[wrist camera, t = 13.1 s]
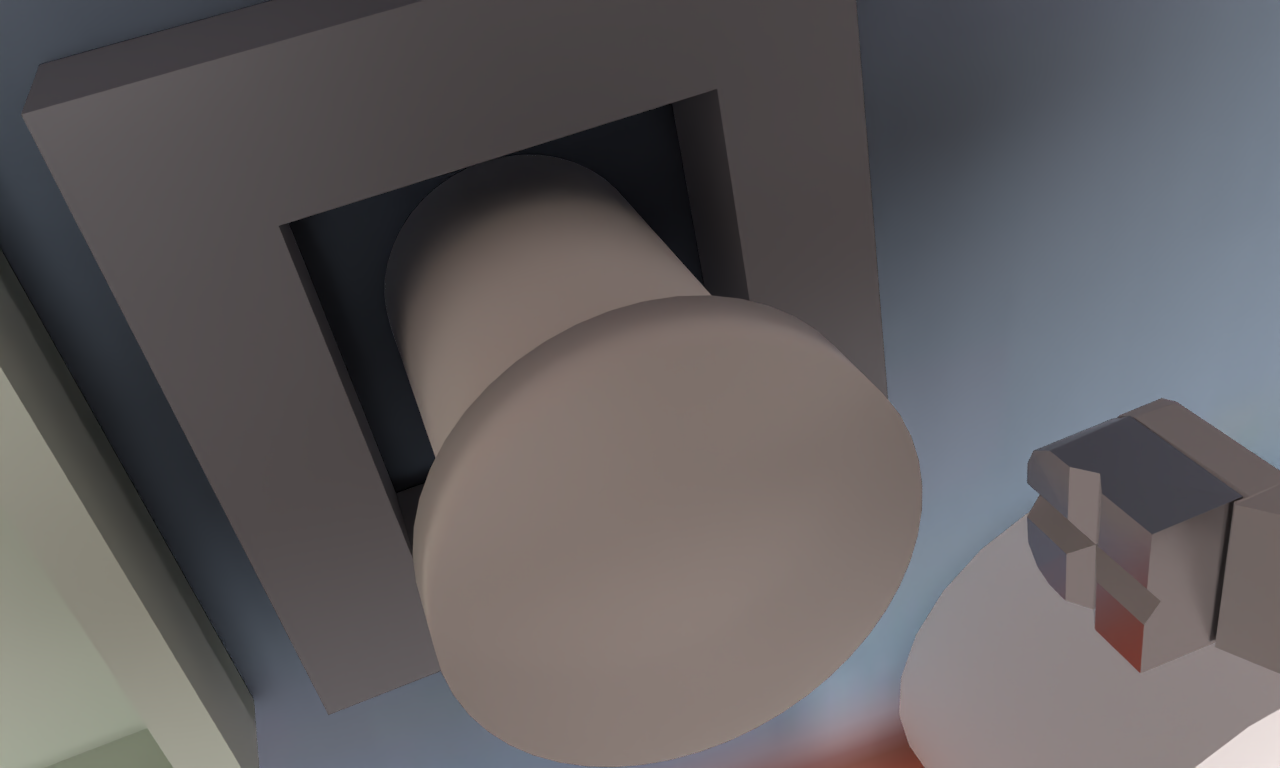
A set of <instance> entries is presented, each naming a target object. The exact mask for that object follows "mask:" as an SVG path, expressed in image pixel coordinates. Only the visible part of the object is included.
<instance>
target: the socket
mask: <svg viewBox="0 0 1280 768" xmlns="http://www.w3.org/2000/svg"><path fill="white" fill-rule="evenodd" d="M670 103H672V106H673V112H674V118H675V123H676V129H677V135H678V140H679V146H680V151H681V157H682V163H683V168H684V174H685V180H686V185H687V191H688V196H689V202H690V208H691V213H692V219H693V225H694V230H695V236H696V241H697V247H698V253H699V258H700V264H701V270H702V275H703V281H704V287H705V289H706V290H707V291H708V292H709V293H710V294H711V295H712V296H721V297H731V298H740V299H744V300H748V301H752V302H756V303H760V304H764V305H768V306H771V307H773V308H776V309H778V310H780V311H783V312H785V313H787V314H790V315H792V316H795V317H796V318H798V319H799V320H801V321H803V322H804V323H806V324H807V325H809V326H811V327H812V328H814V329H815V330H817V331H818V332H819V333H820V334H821V335H823V336H824V337H825V338H826V339H827V340H828V341H829V342H830V343H832V344H833V345H834V346H835V347H836V348H837V349H838V350H839V351H840V352H841V353H842V354H843V355H844V356H845V357H846V358H847V359H848V360H849V361H850V362H851V363H852V364H853V365H854V366H855V367H856V368H857V369H858V370H859V371H860V372H861V373H863V374H864V375H865V376H866V377H867V378H868V379H869V380H870V381H871V382H872V383H873V384H874V385H875V386H876V387H877V388H878V389H879V390H880V391H881V392H882V393H883V394H884V395H885V397H886V398H887V399H888V395H887V382H886V370H885V357H884V345H883V332H882V319H881V307H880V294H879V282H878V269H877V257H876V244H875V231H874V219H873V206H872V194H871V181H870V169H869V156H868V144H867V131H866V118H865V106H864V93H863V81H862V68H861V56H860V43H859V30H858V18H857V5H856V0H272V1H268V2H264V3H261V4H257V5H254V6H250V7H246V8H243V9H239V10H236V11H232V12H228V13H225V14H221V15H218V16H214V17H210V18H207V19H203V20H199V21H196V22H192V23H189V24H185V25H181V26H178V27H174V28H171V29H167V30H163V31H160V32H156V33H153V34H149V35H145V36H142V37H138V38H135V39H131V40H127V41H124V42H120V43H116V44H113V45H109V46H106V47H102V48H98V49H95V50H91V51H88V52H84V53H80V54H77V55H73V56H70V57H66V58H62V59H59V60H55V61H51V62H48V63H44V64H41V65H39V67H38V70H37V72H36V75H35V78H34V81H33V83H32V86H31V89H30V92H29V94H28V97H27V100H26V103H25V105H24V108H23V111H22V113H21V115H22V117H23V119H24V121H25V123H26V125H27V127H28V129H29V131H30V133H31V135H32V137H33V139H34V141H35V143H36V145H37V147H38V149H39V151H40V152H41V154H42V156H43V158H44V160H45V162H46V164H47V166H48V168H49V170H50V172H51V174H52V176H53V178H54V180H55V182H56V184H57V186H58V188H59V190H60V192H61V193H62V195H63V197H64V199H65V201H66V203H67V205H68V207H69V209H70V211H71V213H72V215H73V217H74V219H75V221H76V223H77V225H78V227H79V229H80V231H81V233H82V234H83V236H84V238H85V240H86V242H87V244H88V246H89V248H90V250H91V252H92V254H93V256H94V258H95V260H96V262H97V264H98V266H99V268H100V270H101V272H102V274H103V275H104V277H105V279H106V281H107V283H108V285H109V287H110V289H111V291H112V293H113V295H114V297H115V299H116V301H117V303H118V305H119V307H120V309H121V311H122V313H123V315H124V316H125V318H126V320H127V322H128V324H129V326H130V328H131V330H132V332H133V334H134V336H135V338H136V340H137V342H138V344H139V346H140V348H141V350H142V352H143V354H144V356H145V357H146V359H147V361H148V363H149V365H150V367H151V369H152V371H153V373H154V375H155V377H156V379H157V381H158V383H159V385H160V387H161V389H162V391H163V393H164V395H165V397H166V398H167V400H168V402H169V404H170V406H171V408H172V410H173V412H174V414H175V416H176V418H177V420H178V422H179V424H180V426H181V428H182V430H183V432H184V434H185V436H186V438H187V439H188V441H189V443H190V445H191V447H192V449H193V451H194V453H195V455H196V457H197V459H198V461H199V463H200V465H201V467H202V469H203V471H204V473H205V475H206V477H207V479H208V480H209V482H210V484H211V486H212V488H213V490H214V492H215V494H216V496H217V498H218V500H219V502H220V504H221V506H222V508H223V510H224V512H225V514H226V516H227V518H228V520H229V521H230V523H231V525H232V527H233V529H234V531H235V533H236V535H237V537H238V539H239V541H240V543H241V545H242V547H243V549H244V551H245V553H246V555H247V557H248V559H249V561H250V562H251V564H252V566H253V568H254V570H255V572H256V574H257V576H258V578H259V580H260V582H261V584H262V586H263V588H264V590H265V592H266V594H267V596H268V598H269V600H270V602H271V603H272V605H273V607H274V609H275V611H276V613H277V615H278V617H279V619H280V621H281V623H282V625H283V627H284V629H285V631H286V633H287V635H288V637H289V639H290V641H291V643H292V644H293V646H294V648H295V650H296V652H297V654H298V656H299V658H300V660H301V662H302V664H303V666H304V668H305V670H306V672H307V674H308V676H309V678H310V680H311V682H312V684H313V685H314V687H315V689H316V691H317V693H318V695H319V697H320V699H321V701H322V703H323V705H324V707H325V709H326V711H327V713H328V715H330V714H332V713H335V712H337V711H340V710H342V709H345V708H348V707H350V706H353V705H355V704H358V703H360V702H363V701H365V700H368V699H370V698H373V697H376V696H378V695H381V694H383V693H386V692H388V691H391V690H393V689H396V688H399V687H401V686H404V685H406V684H409V683H411V682H414V681H416V680H419V679H421V678H424V677H427V676H429V675H432V674H434V673H437V672H439V671H441V668H440V665H439V662H438V659H437V656H436V652H435V649H434V646H433V642H432V638H431V635H430V631H429V627H428V624H427V620H426V616H425V613H424V609H423V605H422V602H421V598H420V594H419V591H418V587H417V583H416V578H415V570H414V562H413V533H414V523H415V518H416V513H417V508H418V503H419V498H420V495H421V493H422V490H423V487H424V484H425V483H423V484H421V485H418V486H415V487H412V488H409V489H407V490H404V491H401V492H398V493H396V492H395V490H394V487H393V484H392V482H391V479H390V477H389V474H388V472H387V469H386V467H385V464H384V462H383V459H382V457H381V454H380V452H379V449H378V447H377V444H376V442H375V439H374V437H373V434H372V432H371V429H370V427H369V424H368V422H367V419H366V416H365V414H364V411H363V409H362V406H361V404H360V401H359V399H358V396H357V394H356V391H355V389H354V386H353V384H352V381H351V379H350V376H349V374H348V371H347V369H346V366H345V364H344V361H343V359H342V356H341V354H340V351H339V349H338V346H337V343H336V341H335V338H334V336H333V333H332V331H331V328H330V326H329V323H328V321H327V318H326V316H325V313H324V311H323V308H322V306H321V303H320V301H319V298H318V296H317V293H316V291H315V288H314V286H313V283H312V281H311V278H310V275H309V273H308V270H307V268H306V265H305V263H304V260H303V258H302V255H301V253H300V250H299V248H298V245H297V243H296V240H295V238H294V235H293V233H292V230H291V228H290V225H289V223H290V222H293V221H296V220H299V219H302V218H306V217H309V216H312V215H315V214H318V213H322V212H325V211H328V210H331V209H334V208H338V207H341V206H344V205H347V204H350V203H354V202H357V201H360V200H363V199H366V198H370V197H373V196H376V195H379V194H382V193H386V192H389V191H392V190H395V189H398V188H402V187H405V186H408V185H411V184H414V183H418V182H421V181H424V180H427V179H430V178H434V177H437V176H440V175H443V174H446V173H450V172H453V171H456V170H459V169H462V168H466V167H469V166H472V165H475V164H478V163H482V162H485V161H488V160H491V159H494V158H498V157H501V156H504V155H507V154H510V153H514V152H517V151H520V150H523V149H526V148H530V147H533V146H536V145H539V144H542V143H546V142H549V141H552V140H555V139H558V138H562V137H565V136H568V135H571V134H574V133H578V132H581V131H584V130H587V129H590V128H594V127H597V126H600V125H603V124H606V123H610V122H613V121H616V120H619V119H622V118H626V117H629V116H632V115H635V114H638V113H642V112H645V111H648V110H651V109H654V108H658V107H661V106H664V105H667V104H670Z"/></svg>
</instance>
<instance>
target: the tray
mask: <svg viewBox="0 0 1280 768" xmlns="http://www.w3.org/2000/svg"><path fill="white" fill-rule="evenodd" d="M0 768H259V758H258V746H257V733H256V721H255V708H254V700H253V698H252V696H251V694H250V692H249V691H248V689H247V687H246V685H245V684H244V682H243V680H242V678H241V676H240V675H239V673H238V671H237V669H236V667H235V666H234V664H233V662H232V660H231V659H230V657H229V655H228V653H227V651H226V650H225V648H224V646H223V644H222V643H221V641H220V639H219V637H218V635H217V634H216V632H215V630H214V628H213V627H212V625H211V623H210V621H209V619H208V618H207V616H206V614H205V612H204V610H203V609H202V607H201V605H200V603H199V602H198V600H197V598H196V596H195V594H194V593H193V591H192V589H191V587H190V586H189V584H188V582H187V580H186V578H185V577H184V575H183V573H182V571H181V570H180V568H179V566H178V564H177V562H176V561H175V559H174V557H173V555H172V553H171V552H170V550H169V548H168V546H167V545H166V543H165V541H164V539H163V537H162V536H161V534H160V532H159V530H158V529H157V527H156V525H155V523H154V521H153V520H152V518H151V516H150V514H149V513H148V511H147V509H146V507H145V505H144V504H143V502H142V500H141V498H140V496H139V495H138V493H137V491H136V489H135V488H134V486H133V484H132V482H131V480H130V479H129V477H128V475H127V473H126V472H125V470H124V468H123V466H122V464H121V463H120V461H119V459H118V457H117V456H116V454H115V452H114V450H113V448H112V447H111V445H110V443H109V441H108V439H107V438H106V436H105V434H104V432H103V431H102V429H101V427H100V425H99V423H98V422H97V420H96V418H95V416H94V415H93V413H92V411H91V409H90V407H89V406H88V404H87V402H86V400H85V399H84V397H83V395H82V393H81V391H80V390H79V388H78V386H77V384H76V382H75V381H74V379H73V377H72V375H71V374H70V372H69V370H68V368H67V366H66V365H65V363H64V361H63V359H62V358H61V356H60V354H59V352H58V350H57V349H56V347H55V345H54V343H53V342H52V340H51V338H50V336H49V334H48V333H47V331H46V329H45V327H44V325H43V324H42V322H41V320H40V318H39V317H38V315H37V313H36V311H35V309H34V308H33V306H32V304H31V302H30V301H29V299H28V297H27V295H26V293H25V292H24V290H23V288H22V286H21V285H20V283H19V281H18V279H17V277H16V276H15V274H14V272H13V270H12V268H11V267H10V265H9V263H8V261H7V260H6V258H5V256H4V254H3V252H2V251H1V249H0Z"/></svg>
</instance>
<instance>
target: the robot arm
mask: <svg viewBox="0 0 1280 768" xmlns="http://www.w3.org/2000/svg"><path fill="white" fill-rule="evenodd" d="M1027 483H1028V484H1029V485H1030V486H1031V487H1032V488H1033V489H1034V490H1036V491H1037V492H1038V493H1039V494H1040V495H1039V497H1038V499H1037V501H1036V502H1035V504H1034V506H1033V507H1032V509H1031V511H1030V512H1029V514H1028V516H1027V529H1028V543H1029V546H1030V549H1031V551H1032V554H1033V556H1034V559H1035V562H1036V564H1037V567H1038V568H1039V570H1040V571H1041V573H1042V574H1043V576H1044V577H1045V579H1046V580H1047V582H1048V583H1049V585H1050V586H1051V587H1052V588H1053V589H1054V590H1055V591H1056V592H1057V593H1058V594H1059V595H1060V596H1061V597H1062V598H1063V599H1064V600H1065V601H1068V602H1071V603H1074V604H1078V605H1081V606H1084V607H1087V608H1091V609H1093V612H1094V626H1095V630H1096V631H1097V632H1098V633H1099V634H1100V635H1101V636H1102V637H1103V638H1104V639H1105V640H1106V641H1107V642H1108V643H1109V644H1110V645H1111V646H1112V647H1113V648H1115V649H1116V650H1117V651H1118V652H1119V653H1120V654H1121V655H1122V656H1123V657H1124V658H1125V659H1126V660H1127V661H1128V662H1129V663H1130V664H1131V665H1132V666H1133V667H1134V668H1135V669H1136V670H1137V671H1138V672H1139V673H1143V672H1145V671H1147V670H1150V669H1152V668H1155V667H1157V666H1160V665H1162V664H1164V663H1167V662H1169V661H1172V660H1174V659H1176V658H1179V657H1181V656H1184V655H1186V654H1189V653H1191V652H1193V651H1196V650H1198V649H1201V648H1203V647H1205V646H1208V645H1210V644H1213V643H1215V647H1216V648H1218V649H1220V650H1223V651H1225V652H1228V653H1230V654H1233V655H1235V656H1238V657H1240V658H1242V659H1245V660H1247V661H1250V662H1252V663H1255V664H1257V665H1260V666H1262V667H1264V668H1267V669H1269V670H1272V671H1274V672H1277V673H1279V674H1280V471H1279V470H1278V469H1276V468H1275V467H1273V466H1272V465H1270V464H1269V463H1267V462H1266V461H1264V460H1263V459H1261V458H1260V457H1258V456H1257V455H1255V454H1254V453H1252V452H1251V451H1249V450H1248V449H1246V448H1245V447H1243V446H1242V445H1240V444H1239V443H1237V442H1236V441H1234V440H1233V439H1231V438H1230V437H1228V436H1227V435H1225V434H1224V433H1223V432H1221V431H1220V430H1218V429H1217V428H1215V427H1214V426H1212V425H1211V424H1209V423H1208V422H1206V421H1205V420H1203V419H1202V418H1200V417H1199V416H1197V415H1196V414H1194V413H1193V412H1191V411H1190V410H1188V409H1187V408H1185V407H1184V406H1182V405H1181V404H1179V403H1178V402H1175V401H1172V400H1167V399H1163V398H1161V399H1158V400H1156V401H1153V402H1151V403H1148V404H1146V405H1144V406H1141V407H1139V408H1136V409H1134V410H1131V411H1129V412H1127V413H1124V414H1122V415H1119V416H1118V417H1117V418H1113V419H1110V420H1107V421H1105V422H1103V423H1100V424H1098V425H1095V426H1093V427H1090V428H1088V429H1085V430H1083V431H1080V432H1078V433H1076V434H1073V435H1071V436H1068V437H1066V438H1063V439H1061V440H1058V441H1056V442H1053V443H1051V444H1049V445H1046V446H1044V447H1041V448H1039V449H1036V450H1034V451H1033V453H1032V455H1031V457H1030V459H1029V461H1028V469H1027Z"/></svg>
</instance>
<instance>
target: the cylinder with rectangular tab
mask: <svg viewBox="0 0 1280 768" xmlns="http://www.w3.org/2000/svg"><path fill="white" fill-rule="evenodd" d="M1028 514H1029V513H1027V514H1026V515H1025V516H1023V517H1022V518H1021V519H1019V520H1018V521H1017V522H1016V523H1014V524H1013V525H1012V526H1011V527H1009V528H1008V529H1007V530H1005V531H1004V532H1003V533H1002V534H1000V535H999V536H998V537H997V538H995V539H994V540H993V541H991V542H990V543H989V544H988V545H986V546H985V547H984V548H982V549H981V550H980V551H979V552H978V554H977V555H976V556H975V557H974V558H973V559H972V560H971V561H970V562H969V563H968V565H967V566H966V567H965V568H964V569H963V570H962V571H961V572H960V573H959V574H958V576H957V577H956V578H955V579H954V580H953V581H952V582H951V583H950V584H949V585H948V587H947V588H946V589H945V590H944V591H943V592H942V594H941V596H940V597H939V599H938V601H937V602H936V604H935V605H934V607H933V609H932V610H931V612H930V613H929V615H928V617H927V618H926V620H925V621H924V623H923V625H922V626H921V628H920V630H919V631H918V633H917V634H916V637H915V639H914V642H913V645H912V648H911V651H910V654H909V657H908V659H907V662H906V665H905V668H904V671H903V674H902V676H901V689H900V708H899V716H900V719H901V722H902V725H903V728H904V731H905V734H906V737H907V740H908V743H909V746H910V747H911V749H912V750H913V752H914V753H915V754H916V756H917V757H918V759H919V760H920V762H921V763H922V764H923V766H924V767H925V768H1280V674H1279V673H1277V672H1274V671H1272V670H1269V669H1267V668H1264V667H1262V666H1260V665H1257V664H1255V663H1252V662H1250V661H1247V660H1245V659H1242V658H1240V657H1238V656H1235V655H1233V654H1230V653H1228V652H1225V651H1223V650H1220V649H1218V648H1216V647H1215V643H1213V644H1210V645H1208V646H1205V647H1203V648H1201V649H1198V650H1196V651H1193V652H1191V653H1189V654H1186V655H1184V656H1181V657H1179V658H1176V659H1174V660H1172V661H1169V662H1167V663H1164V664H1162V665H1160V666H1157V667H1155V668H1152V669H1150V670H1147V671H1145V672H1143V673H1139V672H1138V671H1137V670H1136V669H1135V668H1134V667H1133V666H1132V665H1131V664H1130V663H1129V662H1128V661H1127V660H1126V659H1125V658H1124V657H1123V656H1122V655H1121V654H1120V653H1119V652H1118V651H1117V650H1116V649H1115V648H1113V647H1112V646H1111V645H1110V644H1109V643H1108V642H1107V641H1106V640H1105V639H1104V638H1103V637H1102V636H1101V635H1100V634H1099V633H1098V632H1097V631H1096V630H1095V626H1094V612H1093V609H1091V608H1087V607H1084V606H1081V605H1078V604H1074V603H1071V602H1068V601H1065V600H1064V599H1063V598H1062V597H1061V596H1060V595H1059V594H1058V593H1057V592H1056V591H1055V590H1054V589H1053V588H1052V587H1051V586H1050V585H1049V583H1048V582H1047V580H1046V579H1045V577H1044V576H1043V574H1042V573H1041V571H1040V570H1039V568H1038V567H1037V564H1036V562H1035V559H1034V556H1033V554H1032V551H1031V549H1030V546H1029V543H1028V529H1027V516H1028Z"/></svg>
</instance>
